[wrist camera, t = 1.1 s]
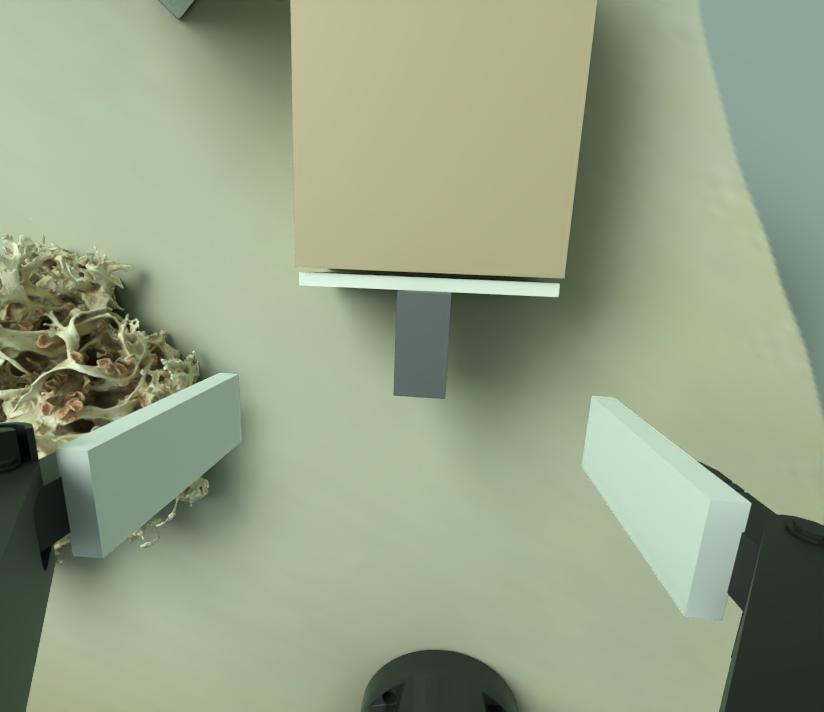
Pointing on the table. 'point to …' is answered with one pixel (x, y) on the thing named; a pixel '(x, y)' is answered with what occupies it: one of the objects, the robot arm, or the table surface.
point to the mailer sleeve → (438, 133)
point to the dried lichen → (78, 353)
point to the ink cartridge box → (177, 6)
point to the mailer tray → (430, 283)
